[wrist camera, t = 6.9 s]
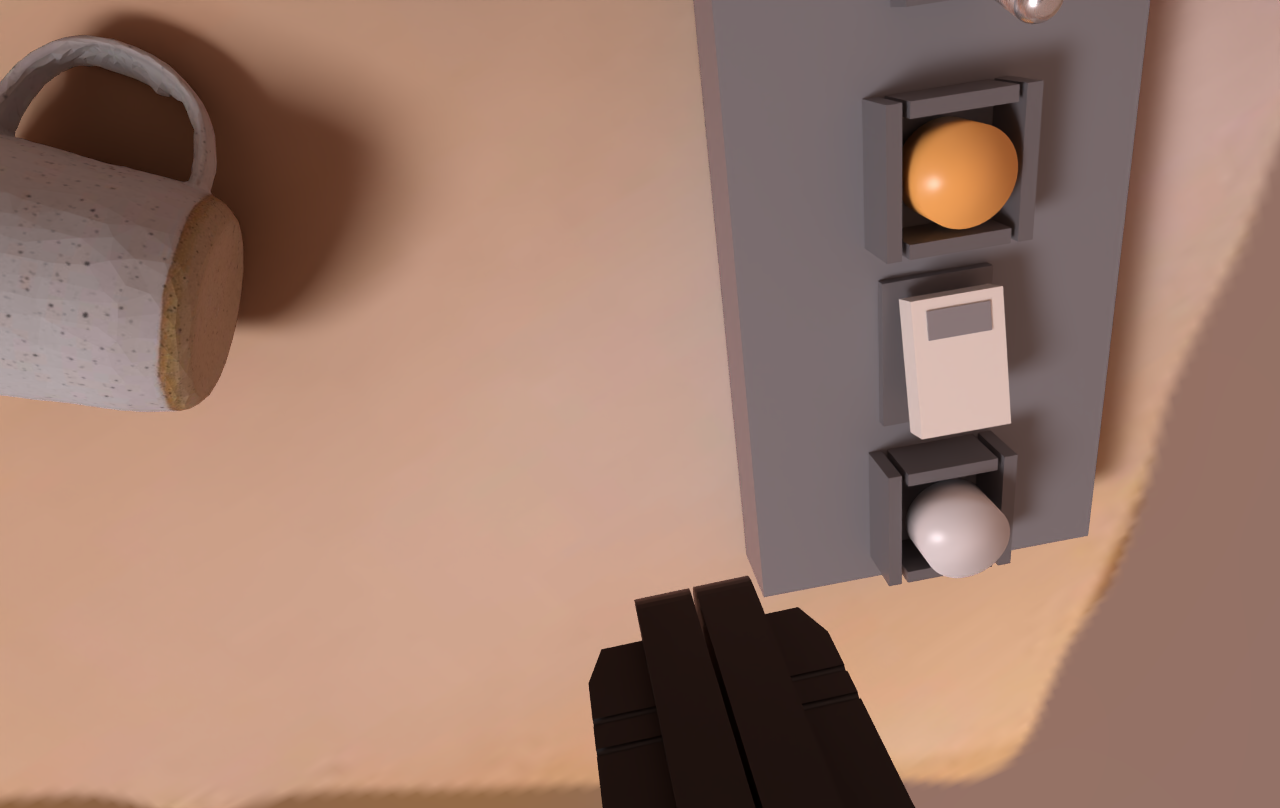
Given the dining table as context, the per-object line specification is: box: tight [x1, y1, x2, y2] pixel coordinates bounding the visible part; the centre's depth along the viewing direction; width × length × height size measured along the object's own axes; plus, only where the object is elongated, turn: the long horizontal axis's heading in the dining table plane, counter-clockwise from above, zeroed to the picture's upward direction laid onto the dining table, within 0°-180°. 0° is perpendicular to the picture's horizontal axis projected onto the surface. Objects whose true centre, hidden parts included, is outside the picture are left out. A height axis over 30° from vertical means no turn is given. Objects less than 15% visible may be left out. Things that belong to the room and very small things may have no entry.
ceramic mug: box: [0, 35, 244, 412], centre depth 25 cm, size 11×8×8 cm
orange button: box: [902, 116, 1018, 229], centre depth 27 cm, size 3×3×2 cm
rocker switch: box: [899, 284, 1011, 439], centre depth 29 cm, size 5×3×1 cm
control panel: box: [693, 0, 1150, 597], centre depth 30 cm, size 27×14×5 cm, turn 8°
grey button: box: [905, 479, 1010, 578], centre depth 32 cm, size 3×3×2 cm
